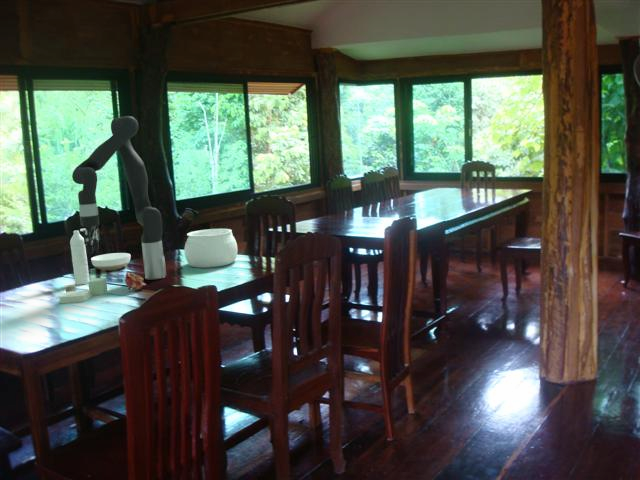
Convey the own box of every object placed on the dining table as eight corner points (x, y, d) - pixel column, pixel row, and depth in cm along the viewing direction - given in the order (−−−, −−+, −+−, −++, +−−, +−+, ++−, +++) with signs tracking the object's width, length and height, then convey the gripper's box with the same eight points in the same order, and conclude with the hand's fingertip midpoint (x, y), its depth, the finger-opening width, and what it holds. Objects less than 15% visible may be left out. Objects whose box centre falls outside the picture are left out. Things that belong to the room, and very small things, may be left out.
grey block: (76, 293, 299) (75, 284, 298) (76, 295, 295) (75, 286, 295) (66, 294, 298) (65, 285, 297) (66, 296, 294) (65, 287, 293)
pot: (214, 256, 366) (211, 226, 363) (251, 259, 350) (248, 228, 347) (172, 267, 342) (169, 235, 339) (210, 271, 327) (207, 238, 324)
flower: (121, 290, 291) (131, 274, 290) (117, 282, 298) (126, 267, 298) (141, 298, 296) (151, 283, 296) (136, 290, 304) (145, 275, 303)
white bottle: (82, 285, 314) (76, 231, 310) (72, 284, 317) (65, 231, 313) (96, 280, 322) (90, 228, 317) (86, 280, 324) (79, 228, 320)
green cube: (107, 291, 299) (105, 277, 298) (104, 294, 293) (102, 280, 292) (93, 292, 299) (92, 278, 298) (89, 295, 293) (88, 281, 292)
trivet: (91, 295, 292) (90, 289, 292) (84, 301, 282) (84, 295, 282) (67, 297, 292) (67, 291, 291) (60, 303, 282) (59, 297, 281)
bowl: (139, 265, 354) (138, 253, 353) (110, 273, 338) (108, 261, 337) (114, 263, 364) (112, 252, 363) (84, 271, 348) (82, 259, 347)
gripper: (93, 216, 284) (97, 254, 286) (102, 211, 298) (106, 248, 300) (75, 217, 283) (79, 255, 286) (85, 213, 297) (89, 249, 300)
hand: (93, 251), depth 293 cm, fingers open, 8 cm apart
